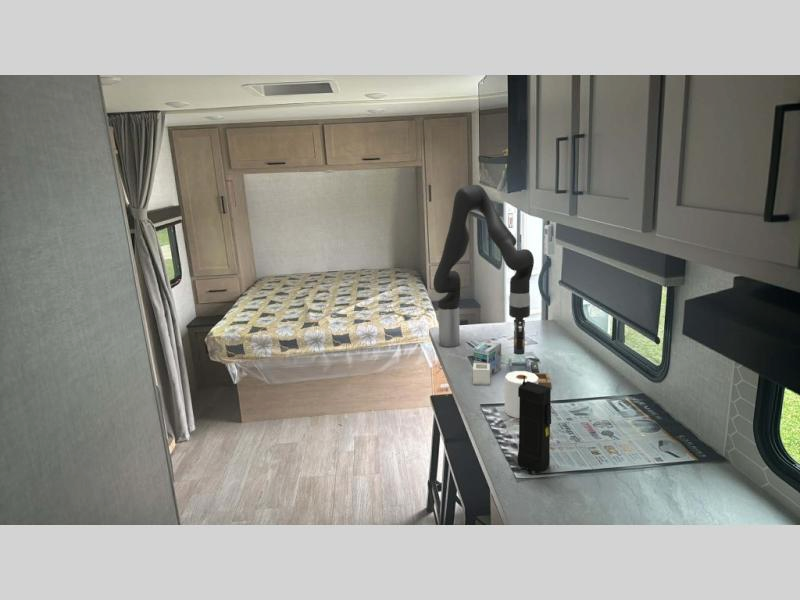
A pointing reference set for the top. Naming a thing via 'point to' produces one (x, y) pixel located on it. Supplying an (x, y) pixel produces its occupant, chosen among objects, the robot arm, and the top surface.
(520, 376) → the toilet paper
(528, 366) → the tray
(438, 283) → the robot arm
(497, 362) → the light bulb box
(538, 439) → the portable radio
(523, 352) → the cell
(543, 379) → the trough
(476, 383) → the pot
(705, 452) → the top surface
